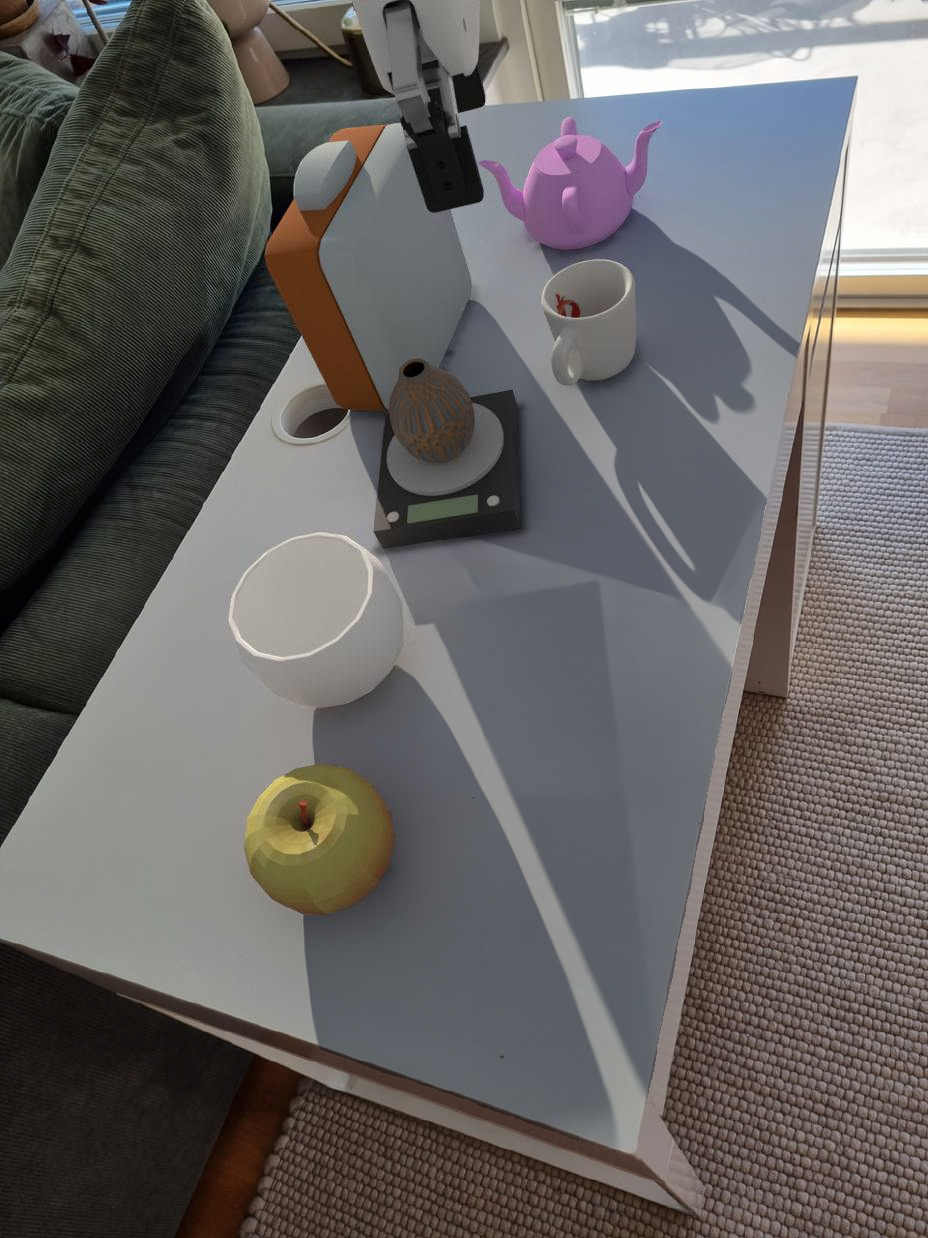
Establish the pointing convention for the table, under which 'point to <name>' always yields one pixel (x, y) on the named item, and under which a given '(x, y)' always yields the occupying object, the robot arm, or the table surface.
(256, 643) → the cup
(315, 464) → the table surface
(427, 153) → the robot arm
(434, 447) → the vase
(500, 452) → the scale
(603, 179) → the teapot
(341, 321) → the alarm clock
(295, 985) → the table surface
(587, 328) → the cup
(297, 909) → the apple
